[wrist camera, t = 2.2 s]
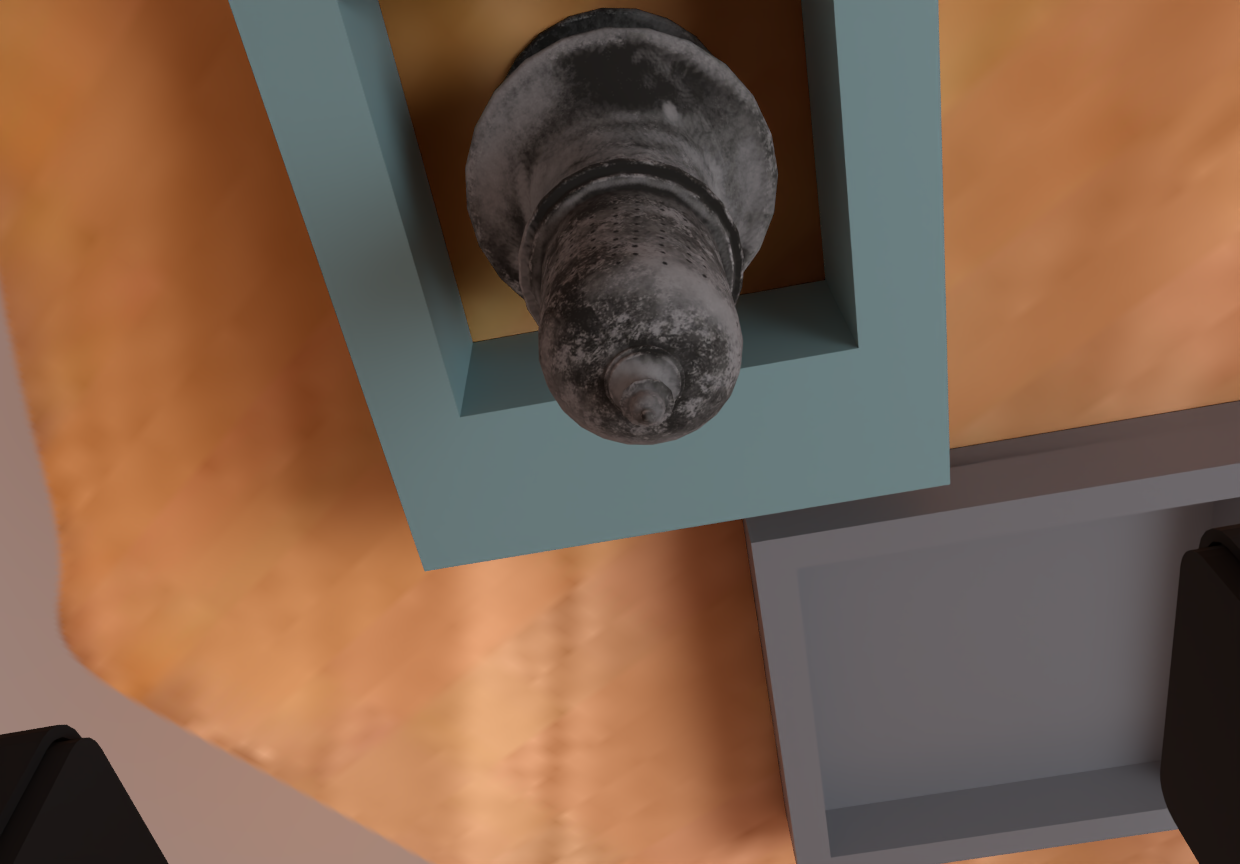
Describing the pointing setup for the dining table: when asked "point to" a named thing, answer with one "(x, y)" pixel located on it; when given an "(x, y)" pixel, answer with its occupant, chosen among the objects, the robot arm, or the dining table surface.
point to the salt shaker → (625, 216)
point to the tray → (988, 642)
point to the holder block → (509, 366)
